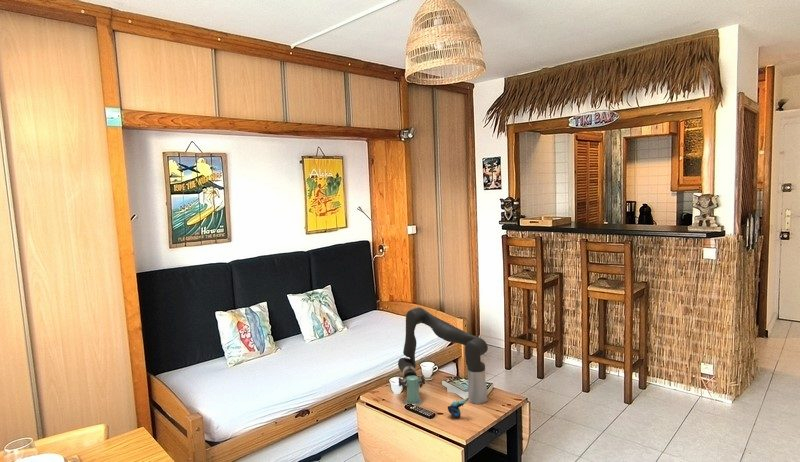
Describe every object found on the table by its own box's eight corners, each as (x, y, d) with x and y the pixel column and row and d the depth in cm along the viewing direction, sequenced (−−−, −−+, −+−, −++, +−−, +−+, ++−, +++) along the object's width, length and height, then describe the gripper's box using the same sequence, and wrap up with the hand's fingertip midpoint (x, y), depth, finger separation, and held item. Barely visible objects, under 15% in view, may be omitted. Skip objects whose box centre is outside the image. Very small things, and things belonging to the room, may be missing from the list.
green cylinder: (418, 398, 264) (417, 375, 263) (420, 403, 258) (418, 379, 257) (407, 399, 264) (405, 376, 262) (408, 404, 257) (407, 380, 256)
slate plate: (422, 397, 267) (422, 396, 266) (424, 406, 256) (424, 405, 256) (402, 398, 266) (402, 397, 266) (404, 407, 255) (404, 406, 255)
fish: (467, 420, 238) (467, 400, 237) (447, 419, 240) (446, 399, 239) (468, 416, 242) (467, 396, 242) (448, 415, 244) (447, 395, 244)
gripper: (396, 369, 273) (399, 380, 257) (422, 367, 274) (425, 378, 258) (397, 382, 274) (399, 394, 258) (422, 380, 275) (426, 392, 259)
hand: (412, 386), depth 258 cm, fingers open, 8 cm apart
